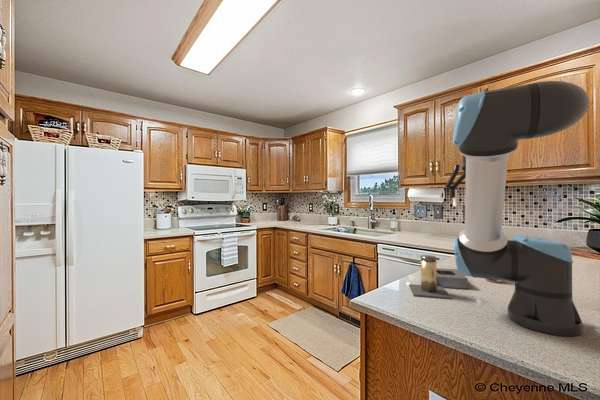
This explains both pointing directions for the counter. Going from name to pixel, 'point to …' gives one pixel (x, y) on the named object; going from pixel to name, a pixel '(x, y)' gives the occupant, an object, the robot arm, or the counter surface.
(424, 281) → the glass jar
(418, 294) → the mat
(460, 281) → the block
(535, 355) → the counter surface
